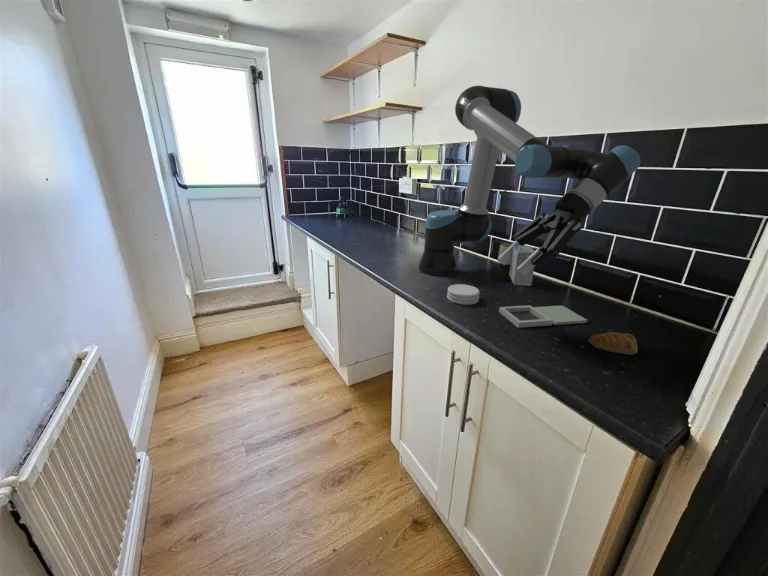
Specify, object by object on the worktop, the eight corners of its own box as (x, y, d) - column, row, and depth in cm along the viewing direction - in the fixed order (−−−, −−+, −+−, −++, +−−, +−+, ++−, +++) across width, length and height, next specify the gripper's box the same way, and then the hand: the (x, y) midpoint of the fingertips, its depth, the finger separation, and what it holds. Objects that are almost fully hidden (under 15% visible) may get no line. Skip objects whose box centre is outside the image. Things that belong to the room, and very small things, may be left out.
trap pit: (498, 311, 95) (499, 307, 95) (529, 309, 97) (530, 305, 96) (518, 327, 86) (519, 322, 85) (551, 325, 88) (552, 320, 87)
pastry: (595, 353, 76) (599, 338, 74) (582, 338, 82) (586, 325, 80) (639, 357, 74) (644, 342, 73) (623, 342, 81) (627, 328, 79)
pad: (532, 309, 97) (532, 307, 97) (561, 307, 99) (562, 305, 99) (554, 325, 88) (555, 322, 88) (586, 322, 90) (587, 320, 90)
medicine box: (531, 286, 81) (537, 253, 78) (512, 285, 82) (517, 251, 79) (525, 276, 89) (531, 245, 85) (508, 275, 89) (513, 244, 86)
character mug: (521, 283, 119) (528, 249, 114) (504, 284, 117) (510, 249, 113) (504, 274, 129) (510, 242, 124) (488, 275, 127) (493, 242, 123)
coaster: (441, 295, 107) (442, 285, 106) (466, 292, 110) (468, 282, 109) (457, 307, 98) (458, 296, 97) (485, 303, 101) (486, 292, 100)
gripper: (622, 219, 72) (543, 290, 75) (557, 207, 92) (498, 264, 95) (607, 194, 69) (526, 269, 72) (544, 188, 89) (483, 247, 92)
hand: (510, 266), depth 84 cm, fingers closed on medicine box, 9 cm apart
